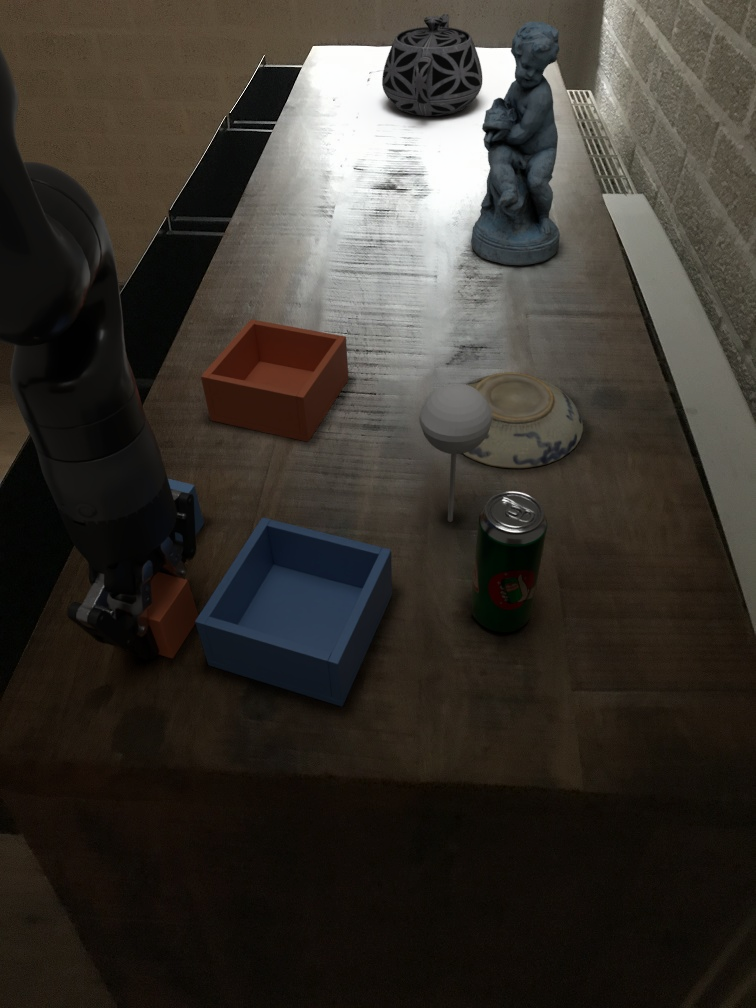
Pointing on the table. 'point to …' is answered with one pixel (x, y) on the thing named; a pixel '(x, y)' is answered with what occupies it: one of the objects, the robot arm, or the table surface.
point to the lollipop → (455, 424)
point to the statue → (521, 158)
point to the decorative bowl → (526, 422)
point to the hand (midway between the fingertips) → (162, 628)
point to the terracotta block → (170, 612)
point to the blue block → (198, 514)
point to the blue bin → (297, 610)
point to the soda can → (507, 560)
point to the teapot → (432, 69)
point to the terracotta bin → (276, 379)
